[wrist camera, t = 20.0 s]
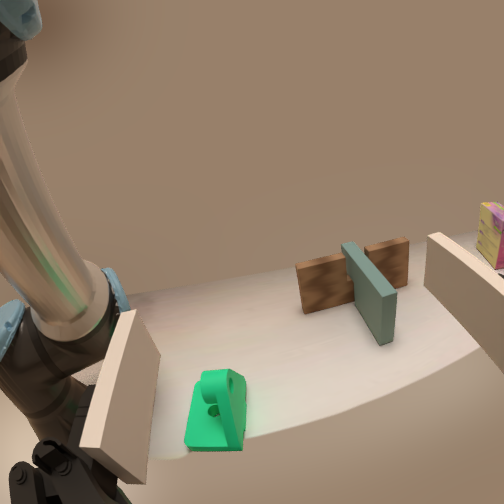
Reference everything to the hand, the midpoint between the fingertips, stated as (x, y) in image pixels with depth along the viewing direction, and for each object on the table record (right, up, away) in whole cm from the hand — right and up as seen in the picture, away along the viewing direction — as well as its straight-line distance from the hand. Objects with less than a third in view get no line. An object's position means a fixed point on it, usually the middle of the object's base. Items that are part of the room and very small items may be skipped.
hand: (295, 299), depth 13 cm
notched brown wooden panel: (+19, -7, +45) cm, 49 cm away
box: (+55, +1, +42) cm, 69 cm away
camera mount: (-6, -22, +27) cm, 35 cm away
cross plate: (+19, -9, +40) cm, 45 cm away
